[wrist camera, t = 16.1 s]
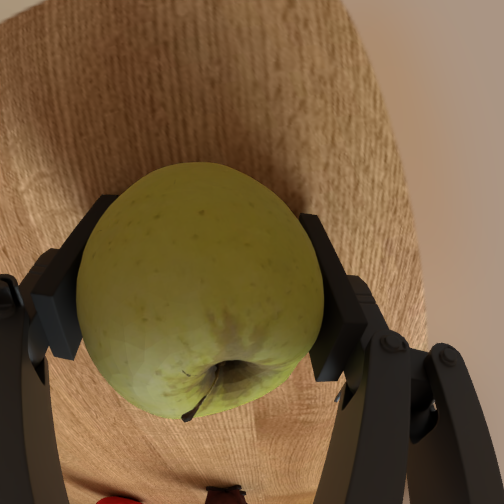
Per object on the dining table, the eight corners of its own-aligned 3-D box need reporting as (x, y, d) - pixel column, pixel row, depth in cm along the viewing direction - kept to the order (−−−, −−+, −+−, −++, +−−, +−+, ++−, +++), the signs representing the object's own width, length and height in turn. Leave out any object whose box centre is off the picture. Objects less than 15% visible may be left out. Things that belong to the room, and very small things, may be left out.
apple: (63, 245, 13) (-19, 416, 4) (191, 118, 13) (288, 100, 4) (180, 344, 17) (227, 516, 8) (295, 243, 16) (436, 366, 8)
